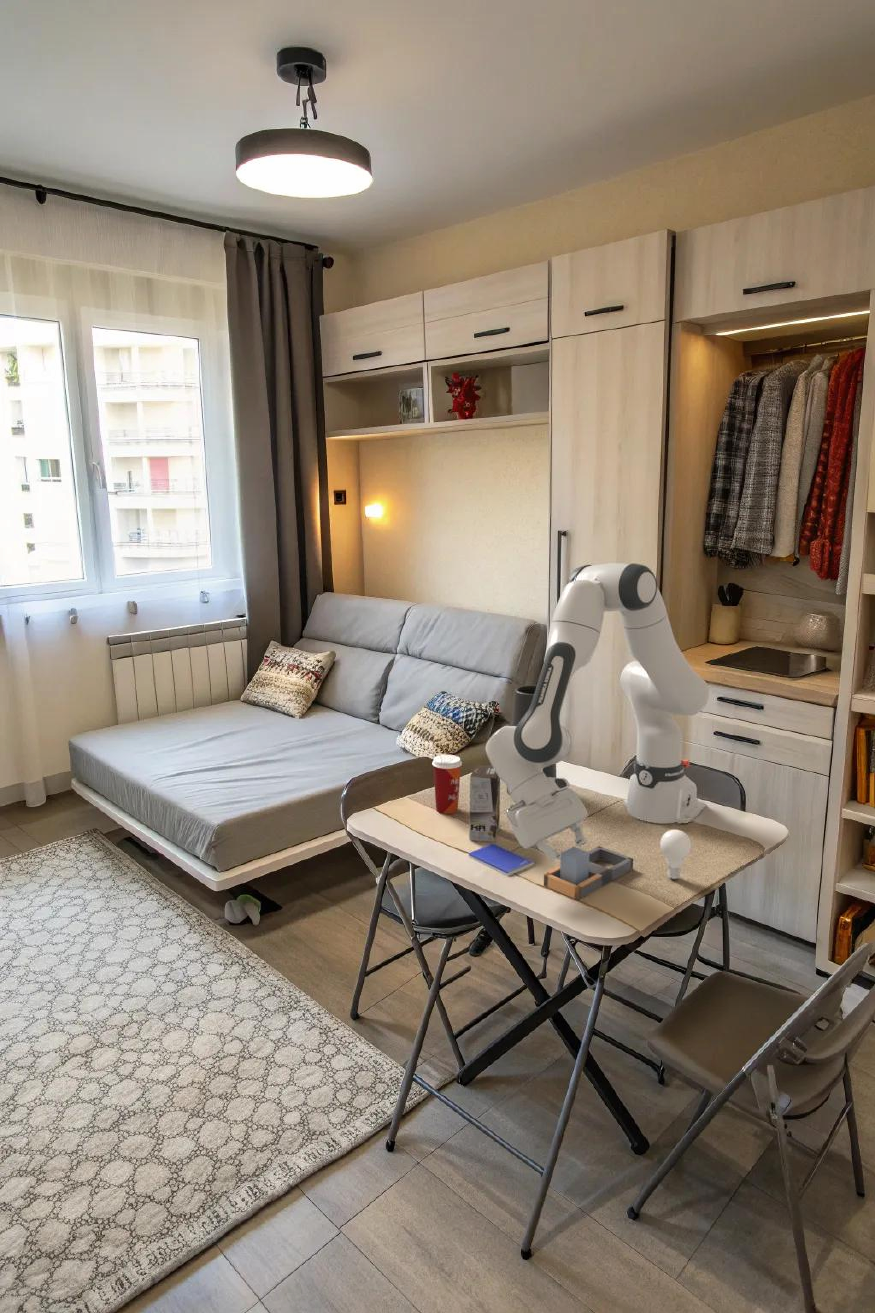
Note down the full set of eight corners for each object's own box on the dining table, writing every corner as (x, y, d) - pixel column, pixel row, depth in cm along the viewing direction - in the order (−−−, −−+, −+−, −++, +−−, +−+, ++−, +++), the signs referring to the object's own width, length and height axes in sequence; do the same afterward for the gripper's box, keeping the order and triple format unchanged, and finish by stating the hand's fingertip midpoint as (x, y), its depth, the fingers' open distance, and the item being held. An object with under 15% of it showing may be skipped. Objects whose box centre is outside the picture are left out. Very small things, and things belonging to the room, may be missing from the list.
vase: (564, 798, 225) (568, 694, 219) (517, 803, 221) (519, 697, 215) (545, 781, 237) (548, 682, 231) (500, 785, 234) (501, 685, 228)
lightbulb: (693, 878, 179) (697, 830, 177) (680, 888, 175) (683, 839, 172) (666, 869, 183) (669, 822, 181) (652, 879, 179) (655, 831, 177)
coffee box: (495, 843, 197) (496, 778, 193) (468, 840, 198) (469, 776, 195) (500, 827, 205) (501, 765, 202) (474, 825, 207) (475, 763, 203)
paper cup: (459, 816, 212) (460, 764, 209) (429, 814, 213) (429, 762, 210) (463, 805, 220) (463, 754, 217) (434, 803, 221) (434, 753, 218)
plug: (572, 879, 179) (573, 846, 177) (587, 885, 176) (589, 852, 175) (559, 886, 176) (560, 853, 174) (575, 892, 173) (576, 859, 171)
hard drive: (533, 860, 185) (494, 843, 194) (507, 871, 180) (468, 852, 189) (533, 867, 186) (494, 849, 195) (507, 878, 180) (468, 859, 189)
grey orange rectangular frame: (598, 856, 190) (599, 845, 189) (632, 869, 183) (633, 857, 183) (543, 885, 176) (544, 873, 175) (578, 900, 170) (578, 887, 169)
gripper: (511, 801, 171) (548, 860, 166) (571, 776, 185) (606, 830, 181) (494, 816, 175) (530, 874, 171) (554, 790, 189) (588, 843, 185)
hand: (569, 851), depth 176 cm, fingers open, 8 cm apart
